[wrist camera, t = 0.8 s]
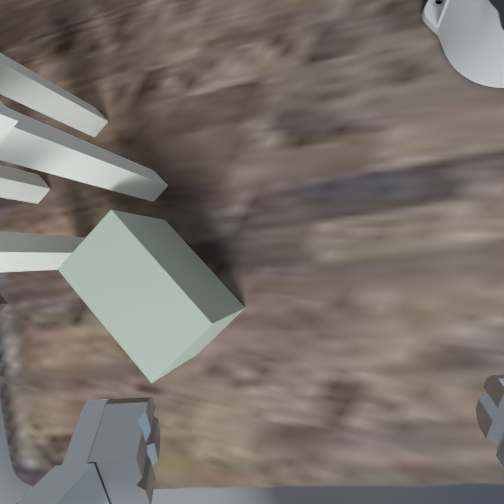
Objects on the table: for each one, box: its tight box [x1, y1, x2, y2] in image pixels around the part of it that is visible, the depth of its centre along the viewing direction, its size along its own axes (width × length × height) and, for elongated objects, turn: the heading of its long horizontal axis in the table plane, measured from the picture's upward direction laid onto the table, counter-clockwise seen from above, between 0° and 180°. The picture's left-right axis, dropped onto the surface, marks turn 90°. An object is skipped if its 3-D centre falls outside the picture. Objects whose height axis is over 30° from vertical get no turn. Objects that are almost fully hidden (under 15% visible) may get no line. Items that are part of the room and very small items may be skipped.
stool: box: [0, 53, 168, 272], centre depth 44 cm, size 18×18×30 cm
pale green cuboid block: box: [58, 210, 245, 383], centre depth 49 cm, size 16×9×13 cm, turn 45°
